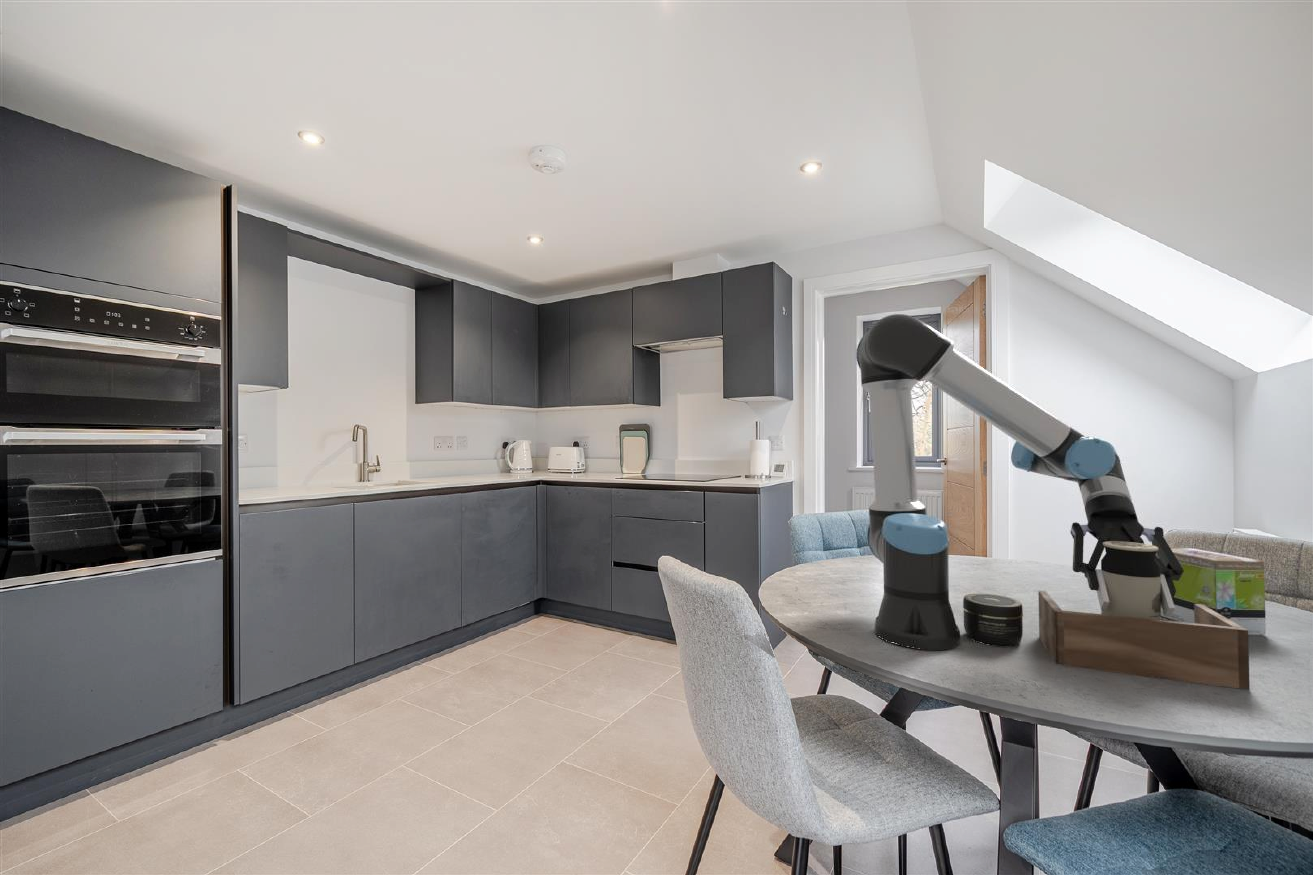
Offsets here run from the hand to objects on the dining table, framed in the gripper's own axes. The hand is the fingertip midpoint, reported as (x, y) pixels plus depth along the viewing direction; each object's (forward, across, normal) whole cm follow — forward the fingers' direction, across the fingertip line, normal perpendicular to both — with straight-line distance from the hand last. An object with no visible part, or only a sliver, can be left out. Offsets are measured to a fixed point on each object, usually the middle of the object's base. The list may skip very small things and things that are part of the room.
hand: (1136, 608), depth 95 cm
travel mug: (+3, 0, -8) cm, 8 cm away
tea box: (-17, -20, -31) cm, 41 cm away
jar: (+3, +21, -11) cm, 24 cm away
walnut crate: (+4, 0, -9) cm, 10 cm away
